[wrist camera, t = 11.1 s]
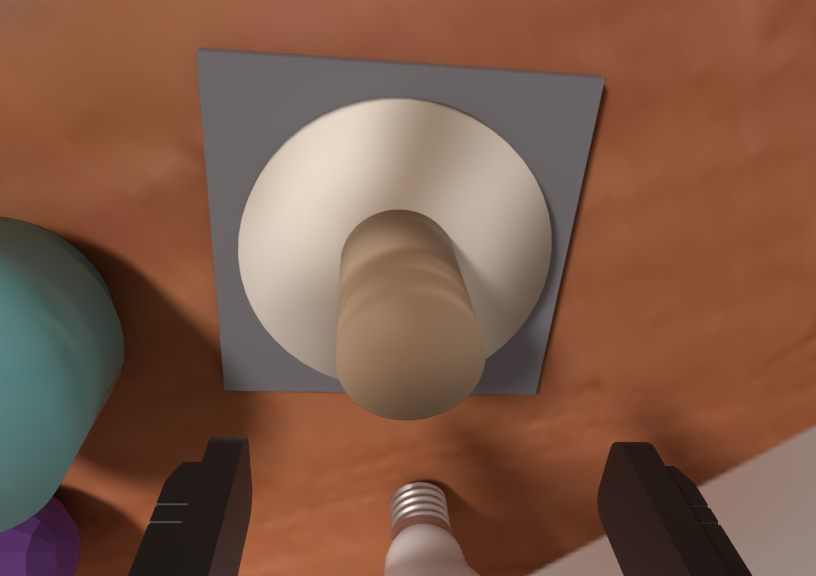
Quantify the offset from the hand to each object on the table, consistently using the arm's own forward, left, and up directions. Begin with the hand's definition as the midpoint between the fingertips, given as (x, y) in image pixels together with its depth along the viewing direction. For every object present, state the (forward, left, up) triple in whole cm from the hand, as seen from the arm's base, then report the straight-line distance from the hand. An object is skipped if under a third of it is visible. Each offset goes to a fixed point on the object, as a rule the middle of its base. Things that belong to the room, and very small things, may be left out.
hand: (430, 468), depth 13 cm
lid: (0, 0, -10) cm, 10 cm away
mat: (0, 0, -11) cm, 11 cm away
